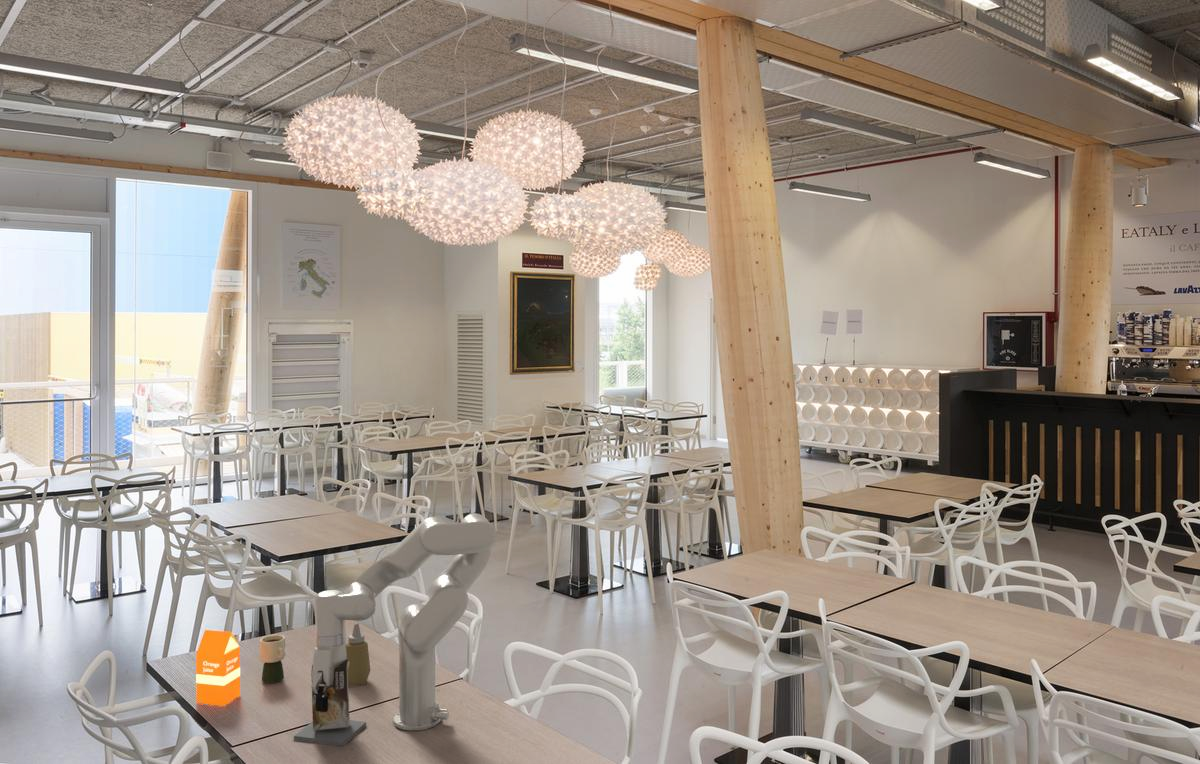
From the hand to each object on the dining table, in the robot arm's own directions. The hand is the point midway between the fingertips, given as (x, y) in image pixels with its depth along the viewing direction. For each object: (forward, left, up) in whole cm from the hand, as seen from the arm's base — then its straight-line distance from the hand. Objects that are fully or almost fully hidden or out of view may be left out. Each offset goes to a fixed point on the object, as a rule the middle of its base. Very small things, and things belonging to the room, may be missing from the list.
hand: (331, 703), depth 229 cm
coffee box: (0, 0, -6) cm, 6 cm away
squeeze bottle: (+10, -32, -8) cm, 34 cm away
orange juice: (+42, -11, -8) cm, 44 cm away
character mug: (+35, -27, -8) cm, 45 cm away
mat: (0, 0, -8) cm, 8 cm away
